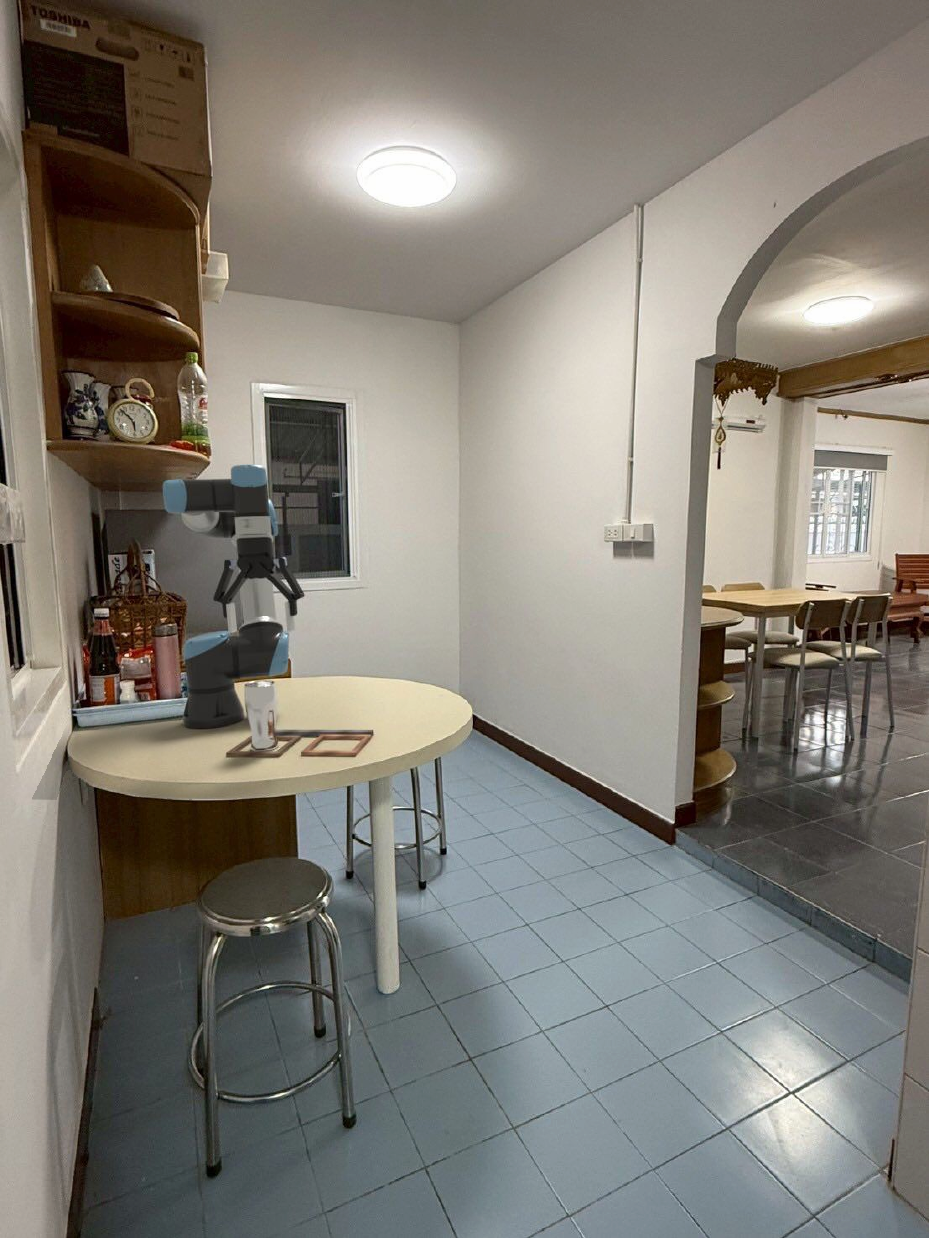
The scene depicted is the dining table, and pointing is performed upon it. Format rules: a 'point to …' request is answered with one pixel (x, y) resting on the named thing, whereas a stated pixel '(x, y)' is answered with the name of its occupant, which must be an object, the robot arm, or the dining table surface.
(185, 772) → the dining table surface
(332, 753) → the double square frame
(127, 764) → the dining table surface
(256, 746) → the beer glass
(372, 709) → the dining table surface
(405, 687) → the dining table surface
